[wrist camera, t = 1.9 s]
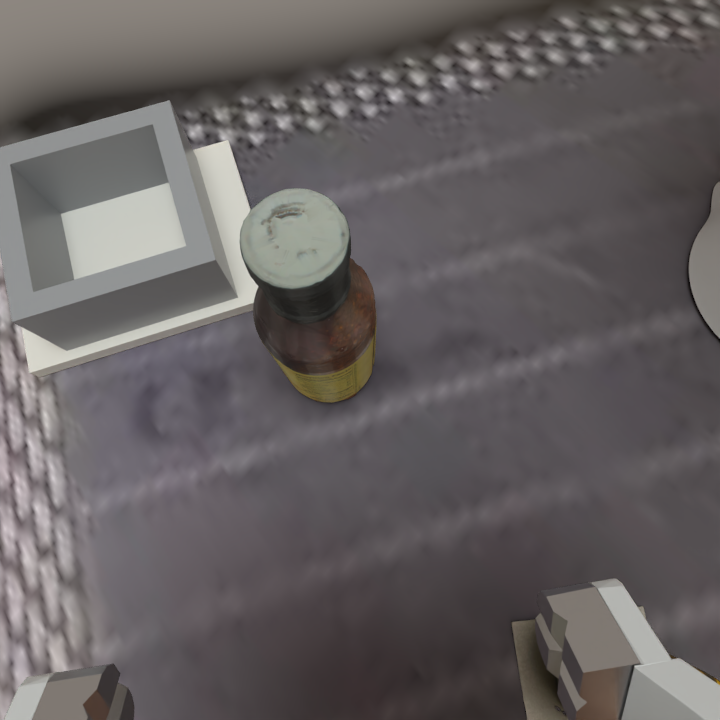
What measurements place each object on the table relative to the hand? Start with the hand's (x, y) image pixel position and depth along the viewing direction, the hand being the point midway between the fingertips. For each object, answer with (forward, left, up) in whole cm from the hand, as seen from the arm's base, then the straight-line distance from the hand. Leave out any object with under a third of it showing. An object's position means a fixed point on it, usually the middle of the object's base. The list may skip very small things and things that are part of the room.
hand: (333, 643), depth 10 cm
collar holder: (+9, -25, -25) cm, 37 cm away
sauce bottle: (-2, -12, -26) cm, 28 cm away
